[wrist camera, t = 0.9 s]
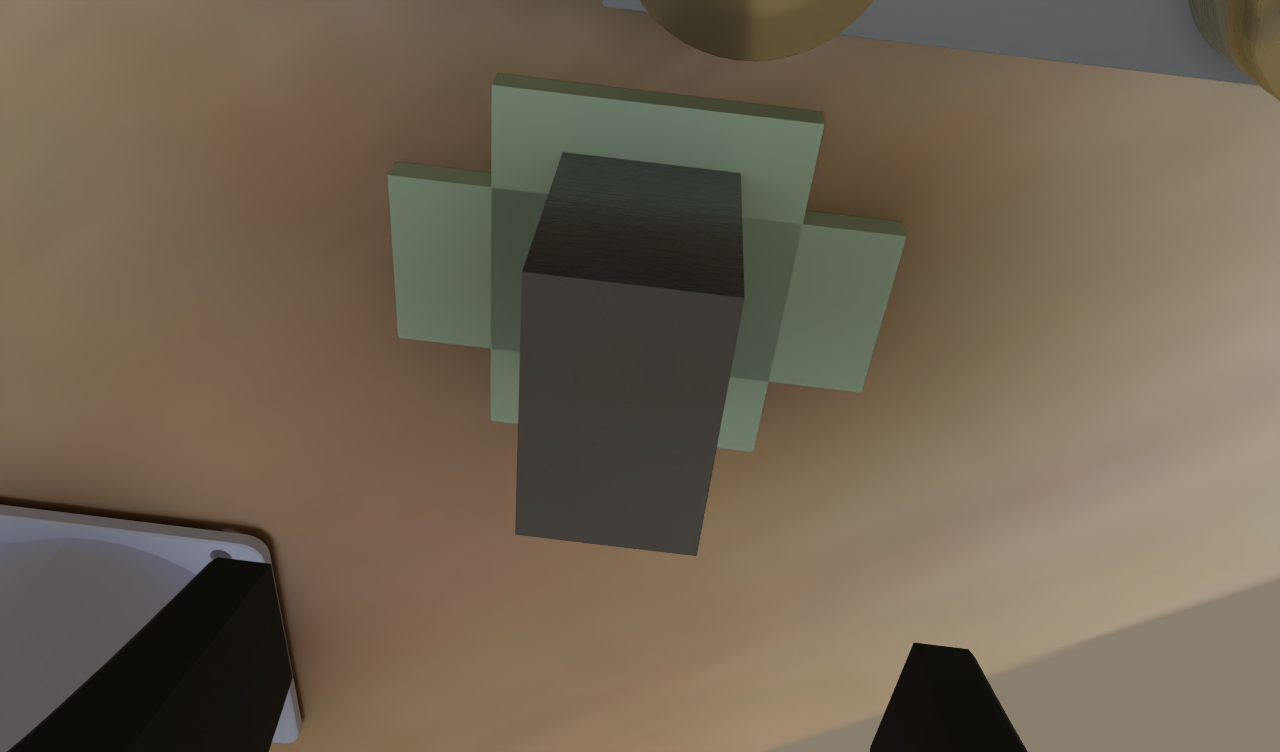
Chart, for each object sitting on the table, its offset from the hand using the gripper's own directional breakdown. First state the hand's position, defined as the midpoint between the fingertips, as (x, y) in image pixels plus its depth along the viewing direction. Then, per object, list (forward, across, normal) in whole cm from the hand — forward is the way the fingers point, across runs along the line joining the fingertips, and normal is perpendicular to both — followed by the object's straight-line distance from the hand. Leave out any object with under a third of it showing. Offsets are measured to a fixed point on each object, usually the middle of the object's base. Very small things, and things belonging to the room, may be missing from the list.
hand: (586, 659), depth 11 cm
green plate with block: (+9, 0, 0) cm, 9 cm away
